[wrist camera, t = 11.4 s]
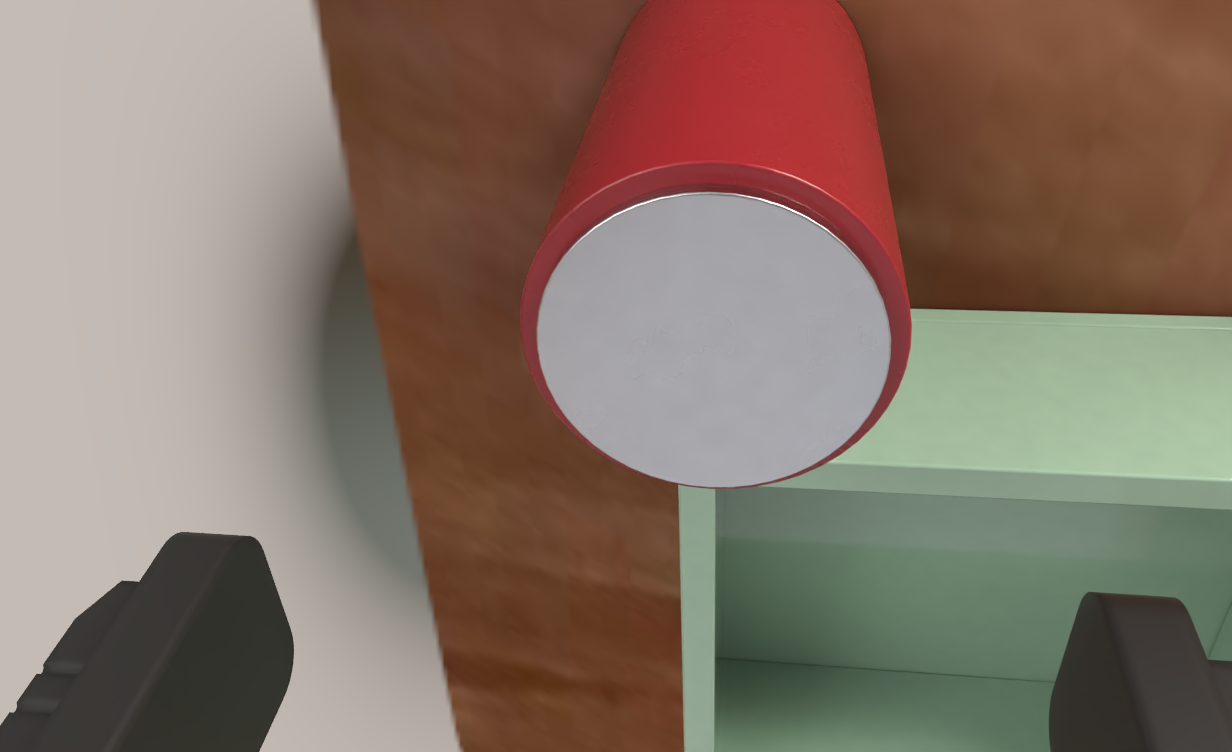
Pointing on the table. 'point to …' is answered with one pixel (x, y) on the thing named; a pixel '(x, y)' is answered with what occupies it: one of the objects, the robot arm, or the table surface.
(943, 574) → the open box
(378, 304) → the table surface
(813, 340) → the can
